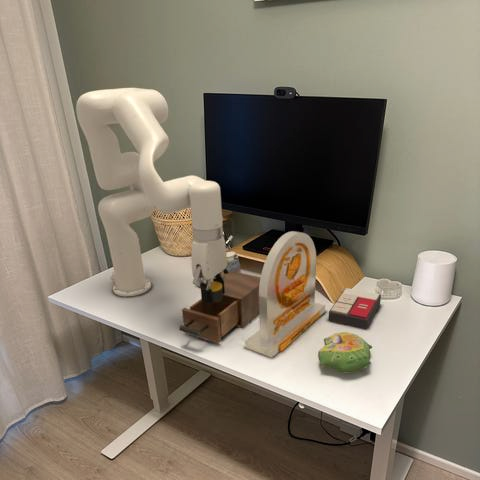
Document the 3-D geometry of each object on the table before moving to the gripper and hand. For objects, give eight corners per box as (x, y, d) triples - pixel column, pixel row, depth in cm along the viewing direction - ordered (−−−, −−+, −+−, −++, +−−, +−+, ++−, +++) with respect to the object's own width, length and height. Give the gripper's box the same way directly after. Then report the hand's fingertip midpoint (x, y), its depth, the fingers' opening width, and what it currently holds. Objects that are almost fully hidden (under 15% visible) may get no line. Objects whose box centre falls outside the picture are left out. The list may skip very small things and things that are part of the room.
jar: (200, 300, 122) (199, 287, 120) (211, 292, 126) (210, 279, 124) (216, 304, 120) (215, 291, 118) (226, 296, 124) (225, 283, 122)
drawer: (207, 352, 116) (205, 328, 112) (173, 341, 121) (169, 317, 118) (245, 320, 129) (244, 297, 126) (212, 311, 135) (210, 289, 131)
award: (273, 358, 114) (272, 256, 100) (245, 347, 119) (241, 248, 105) (326, 312, 133) (332, 221, 119) (300, 304, 138) (302, 215, 124)
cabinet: (242, 327, 128) (241, 299, 123) (206, 317, 134) (203, 289, 129) (267, 305, 138) (267, 278, 134) (232, 297, 144) (231, 270, 140)
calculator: (328, 309, 127) (345, 285, 138) (327, 322, 129) (344, 297, 140) (367, 317, 122) (381, 292, 133) (366, 331, 124) (380, 304, 135)
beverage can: (241, 292, 147) (240, 257, 141) (219, 291, 148) (217, 257, 142) (245, 283, 152) (243, 250, 146) (224, 282, 153) (221, 249, 147)
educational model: (375, 346, 117) (377, 328, 114) (368, 384, 104) (370, 365, 101) (326, 339, 121) (327, 321, 118) (313, 374, 108) (314, 355, 105)
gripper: (215, 220, 121) (219, 282, 131) (174, 241, 109) (183, 307, 118) (238, 224, 118) (241, 287, 127) (200, 246, 106) (206, 314, 115)
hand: (213, 296), depth 123 cm, fingers closed on jar, 5 cm apart
